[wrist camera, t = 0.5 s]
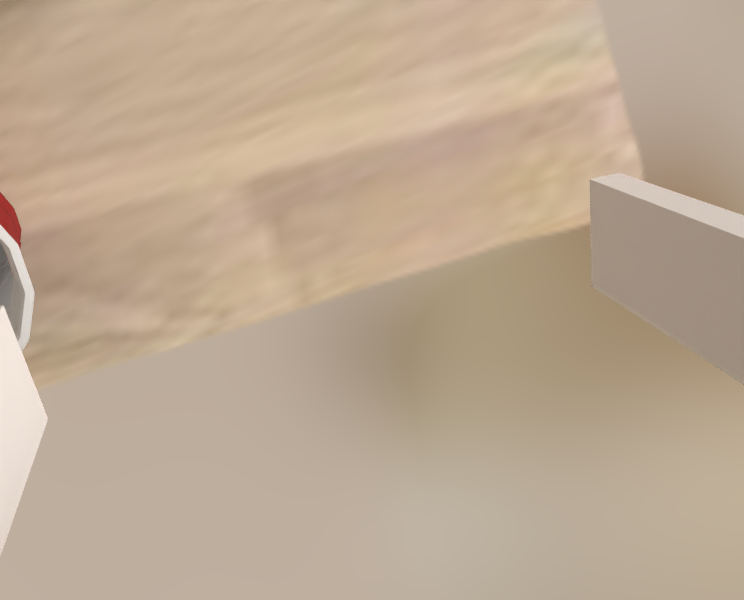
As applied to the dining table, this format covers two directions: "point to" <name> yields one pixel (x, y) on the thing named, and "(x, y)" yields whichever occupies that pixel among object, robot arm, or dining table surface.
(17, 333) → the plastic cup
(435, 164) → the dining table surface
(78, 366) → the dining table surface
